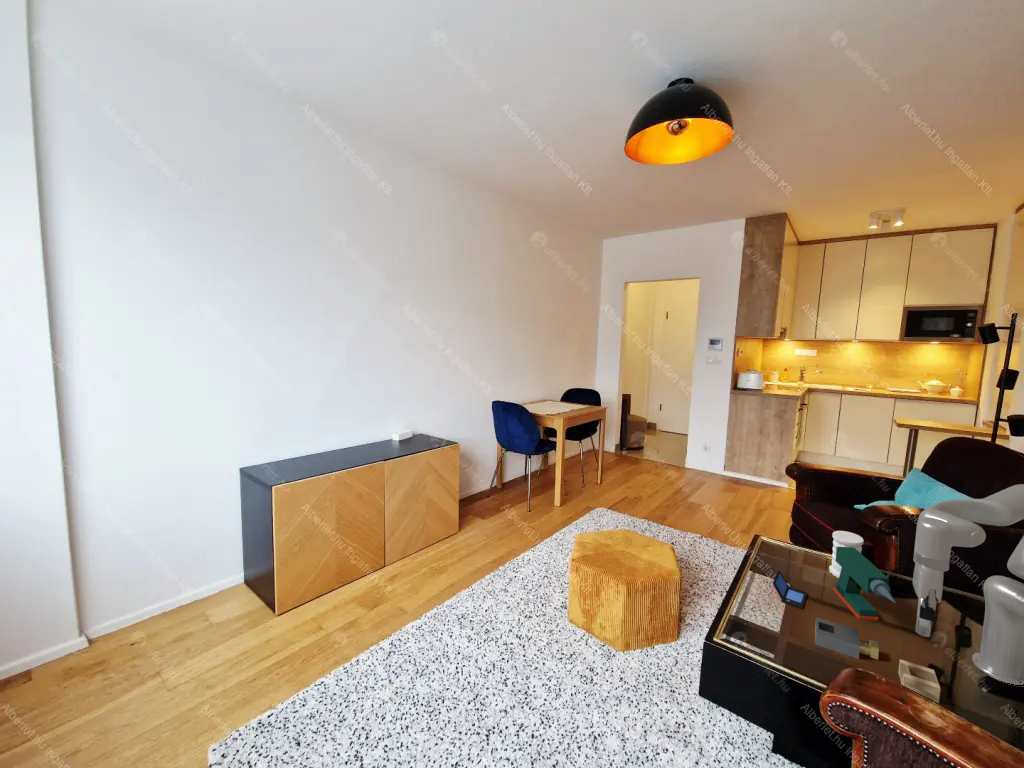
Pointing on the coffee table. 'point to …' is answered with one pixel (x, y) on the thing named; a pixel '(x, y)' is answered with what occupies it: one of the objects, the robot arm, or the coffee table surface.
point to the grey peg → (922, 622)
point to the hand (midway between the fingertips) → (925, 614)
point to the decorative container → (843, 541)
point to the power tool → (859, 582)
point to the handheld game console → (789, 592)
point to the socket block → (837, 637)
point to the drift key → (870, 648)
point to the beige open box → (919, 680)
